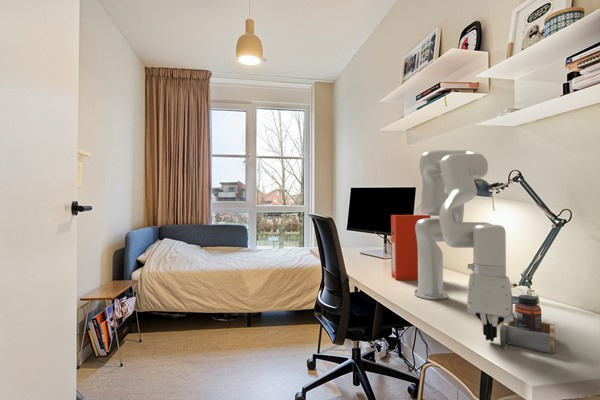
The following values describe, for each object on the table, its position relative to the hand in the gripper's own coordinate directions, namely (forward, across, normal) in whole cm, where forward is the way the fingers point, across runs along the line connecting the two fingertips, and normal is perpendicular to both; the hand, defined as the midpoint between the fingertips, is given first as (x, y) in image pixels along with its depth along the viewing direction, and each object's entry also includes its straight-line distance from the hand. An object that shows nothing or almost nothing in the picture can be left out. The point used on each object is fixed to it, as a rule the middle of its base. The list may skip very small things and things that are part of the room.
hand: (490, 338), depth 84 cm
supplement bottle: (+1, +8, +9) cm, 12 cm away
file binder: (+1, -43, +61) cm, 75 cm away
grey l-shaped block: (+1, +7, +1) cm, 8 cm away
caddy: (+1, +8, +9) cm, 12 cm away
